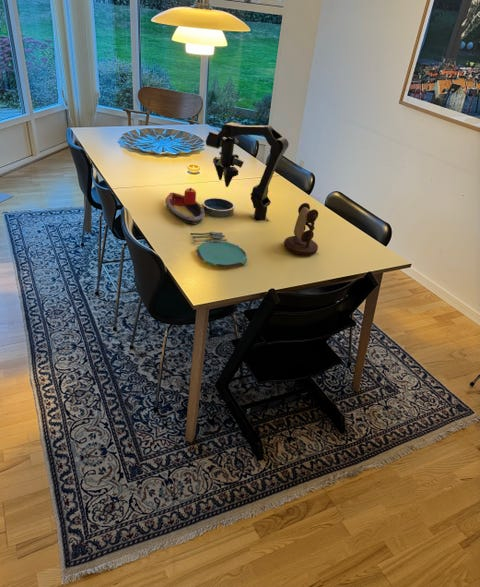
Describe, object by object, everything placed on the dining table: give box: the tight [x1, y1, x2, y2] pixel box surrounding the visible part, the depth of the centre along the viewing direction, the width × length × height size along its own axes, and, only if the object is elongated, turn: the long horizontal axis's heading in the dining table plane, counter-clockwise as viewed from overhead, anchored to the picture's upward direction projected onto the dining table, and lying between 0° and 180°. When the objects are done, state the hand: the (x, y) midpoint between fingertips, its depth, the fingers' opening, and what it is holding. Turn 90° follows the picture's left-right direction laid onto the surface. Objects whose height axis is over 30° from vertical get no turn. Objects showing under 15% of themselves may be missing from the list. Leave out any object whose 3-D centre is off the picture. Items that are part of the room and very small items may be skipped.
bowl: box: [201, 197, 235, 219], centre depth 216 cm, size 15×15×4 cm
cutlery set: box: [190, 231, 248, 267], centre depth 183 cm, size 20×30×2 cm, turn 19°
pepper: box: [183, 187, 197, 205], centre depth 209 cm, size 5×5×7 cm
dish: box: [164, 191, 206, 225], centre depth 210 cm, size 16×31×5 cm, turn 26°
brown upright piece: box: [283, 202, 319, 256], centre depth 190 cm, size 15×15×20 cm
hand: (223, 183), depth 217 cm, fingers open, 9 cm apart
